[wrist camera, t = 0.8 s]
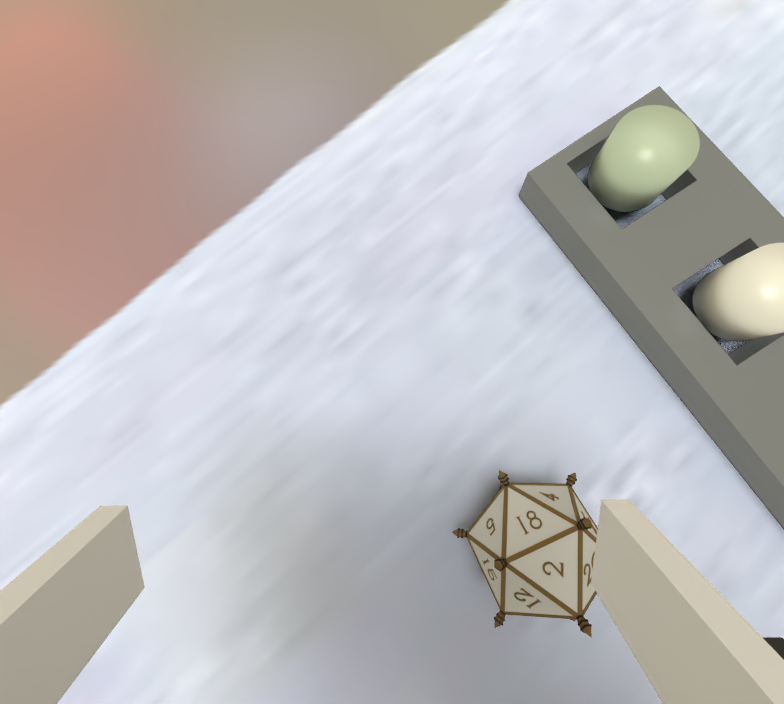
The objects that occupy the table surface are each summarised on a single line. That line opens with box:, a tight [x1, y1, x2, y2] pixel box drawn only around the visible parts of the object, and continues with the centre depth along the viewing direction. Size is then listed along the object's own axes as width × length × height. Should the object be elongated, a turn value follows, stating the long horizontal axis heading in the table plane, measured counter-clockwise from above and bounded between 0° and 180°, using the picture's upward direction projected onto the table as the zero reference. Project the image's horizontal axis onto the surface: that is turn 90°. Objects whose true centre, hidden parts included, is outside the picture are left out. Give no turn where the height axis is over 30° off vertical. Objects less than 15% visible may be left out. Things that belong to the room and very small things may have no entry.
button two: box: [588, 105, 700, 212], centre depth 25 cm, size 5×5×4 cm
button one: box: [693, 243, 784, 341], centre depth 24 cm, size 5×5×4 cm
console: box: [519, 86, 784, 528], centre depth 26 cm, size 30×12×3 cm, turn 33°
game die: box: [452, 470, 598, 637], centre depth 23 cm, size 9×8×10 cm
